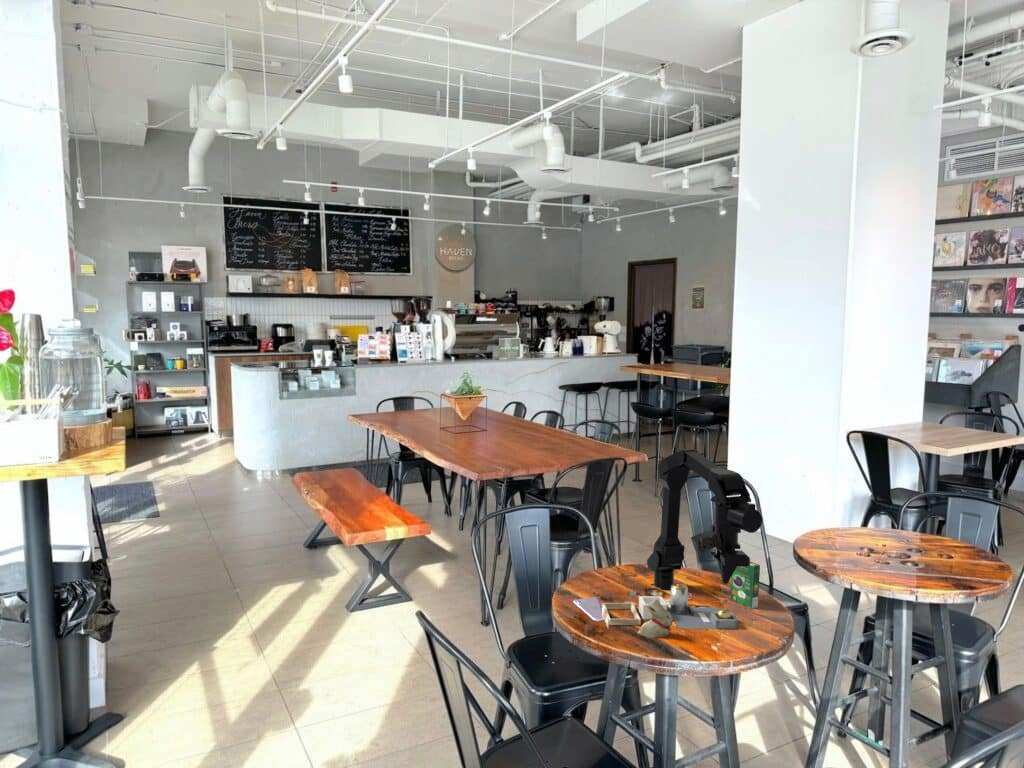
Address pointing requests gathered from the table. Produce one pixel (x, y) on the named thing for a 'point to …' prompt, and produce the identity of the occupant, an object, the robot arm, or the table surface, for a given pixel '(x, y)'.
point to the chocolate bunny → (657, 622)
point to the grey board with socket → (703, 619)
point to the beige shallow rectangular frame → (620, 621)
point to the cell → (679, 599)
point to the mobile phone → (591, 607)
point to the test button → (724, 613)
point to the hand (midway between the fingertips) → (725, 583)
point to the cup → (647, 600)
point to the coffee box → (746, 585)
